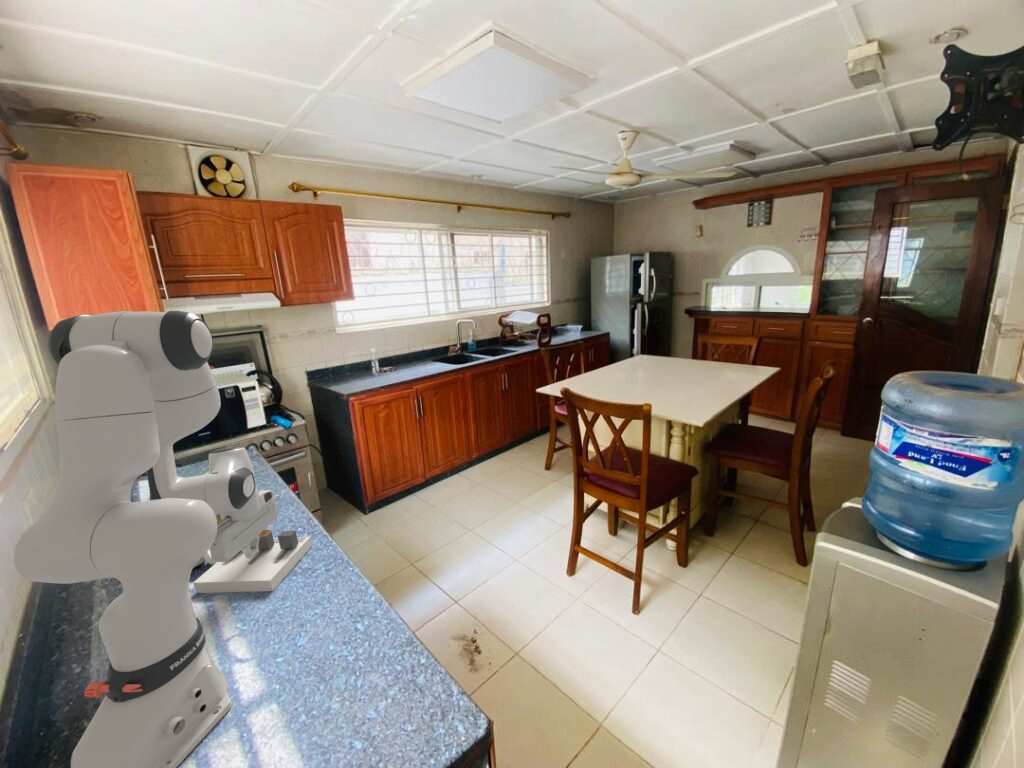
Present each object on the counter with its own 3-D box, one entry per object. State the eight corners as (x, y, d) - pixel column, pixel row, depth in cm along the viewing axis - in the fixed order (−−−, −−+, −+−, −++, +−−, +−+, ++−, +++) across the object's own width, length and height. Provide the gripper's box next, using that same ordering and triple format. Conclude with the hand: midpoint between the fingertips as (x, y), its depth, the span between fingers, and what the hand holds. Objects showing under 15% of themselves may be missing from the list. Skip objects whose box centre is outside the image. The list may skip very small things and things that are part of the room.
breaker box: (272, 590, 100) (270, 579, 99) (196, 593, 101) (192, 582, 100) (312, 545, 117) (310, 536, 116) (246, 548, 119) (244, 538, 118)
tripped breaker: (269, 549, 111) (265, 535, 110) (256, 550, 111) (252, 535, 110) (274, 544, 113) (271, 529, 112) (262, 544, 114) (258, 530, 113)
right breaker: (293, 548, 110) (290, 535, 110) (280, 549, 111) (277, 536, 110) (298, 543, 113) (295, 530, 112) (286, 544, 113) (283, 531, 112)
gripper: (221, 529, 94) (235, 581, 97) (277, 487, 114) (286, 532, 117) (195, 530, 94) (210, 582, 97) (255, 488, 114) (266, 533, 117)
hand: (252, 554), depth 107 cm, fingers closed
